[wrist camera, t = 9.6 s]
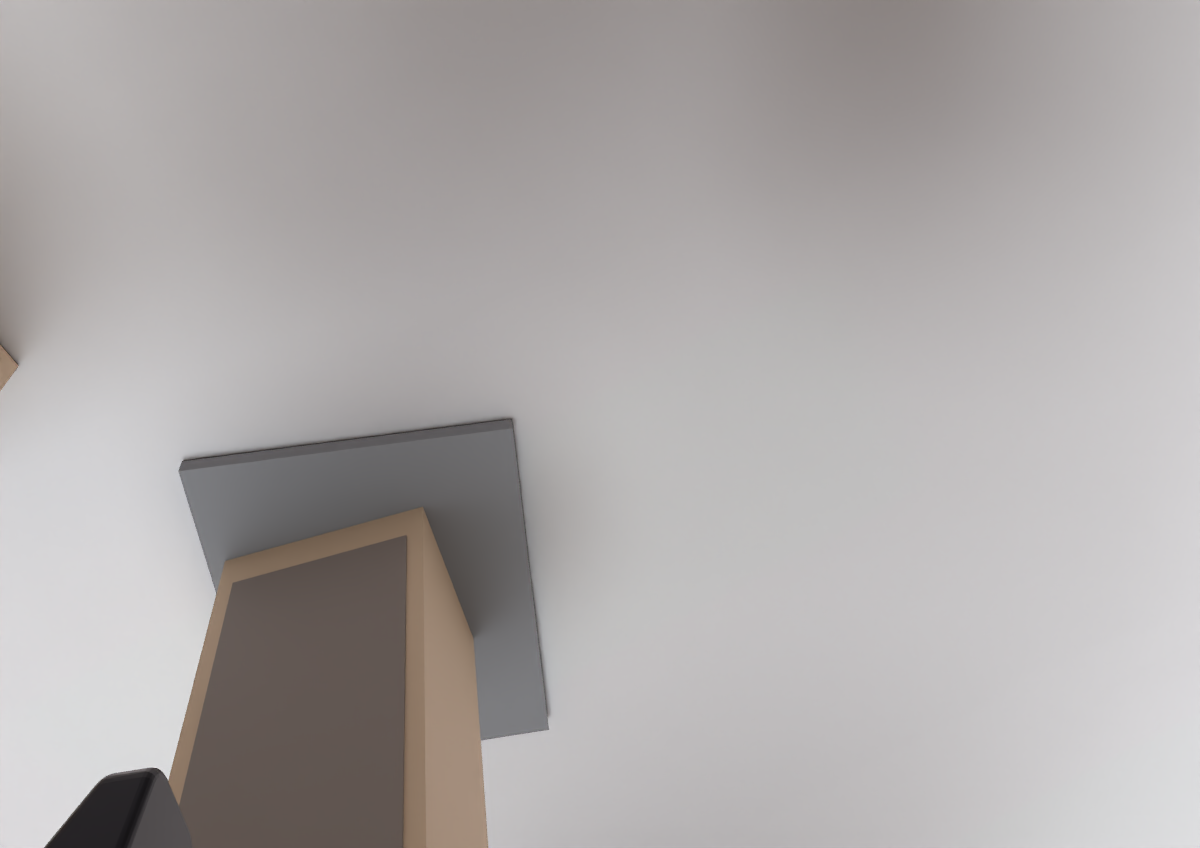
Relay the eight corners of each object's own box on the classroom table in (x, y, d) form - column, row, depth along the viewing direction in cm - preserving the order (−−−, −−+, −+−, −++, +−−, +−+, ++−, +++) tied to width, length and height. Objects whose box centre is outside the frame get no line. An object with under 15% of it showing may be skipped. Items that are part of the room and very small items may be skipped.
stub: (475, 639, 26) (514, 1194, 15) (291, 690, 25) (205, 1283, 15) (423, 503, 23) (429, 1041, 13) (222, 559, 23) (69, 1143, 13)
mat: (547, 717, 28) (548, 729, 27) (273, 760, 27) (271, 772, 27) (511, 418, 23) (512, 428, 23) (182, 461, 22) (178, 471, 22)
